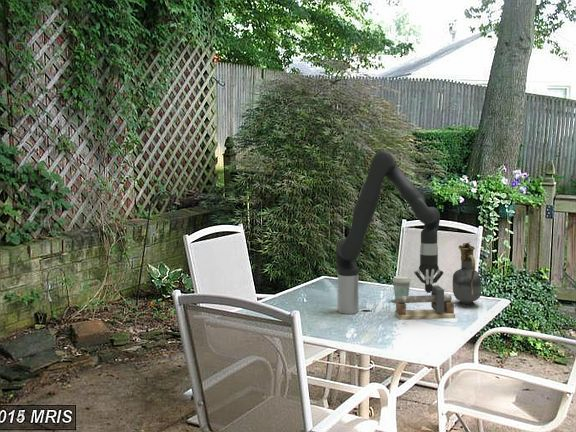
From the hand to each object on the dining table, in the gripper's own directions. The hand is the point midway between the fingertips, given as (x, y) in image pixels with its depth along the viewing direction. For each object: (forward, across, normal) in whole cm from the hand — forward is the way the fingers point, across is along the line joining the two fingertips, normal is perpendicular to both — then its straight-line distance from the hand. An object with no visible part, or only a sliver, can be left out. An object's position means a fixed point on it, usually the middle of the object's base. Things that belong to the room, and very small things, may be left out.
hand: (428, 292), depth 268 cm
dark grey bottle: (+10, +23, +16) cm, 30 cm away
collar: (+8, +4, 0) cm, 9 cm away
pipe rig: (+10, -2, 0) cm, 11 cm away
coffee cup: (+11, -6, +27) cm, 30 cm away
